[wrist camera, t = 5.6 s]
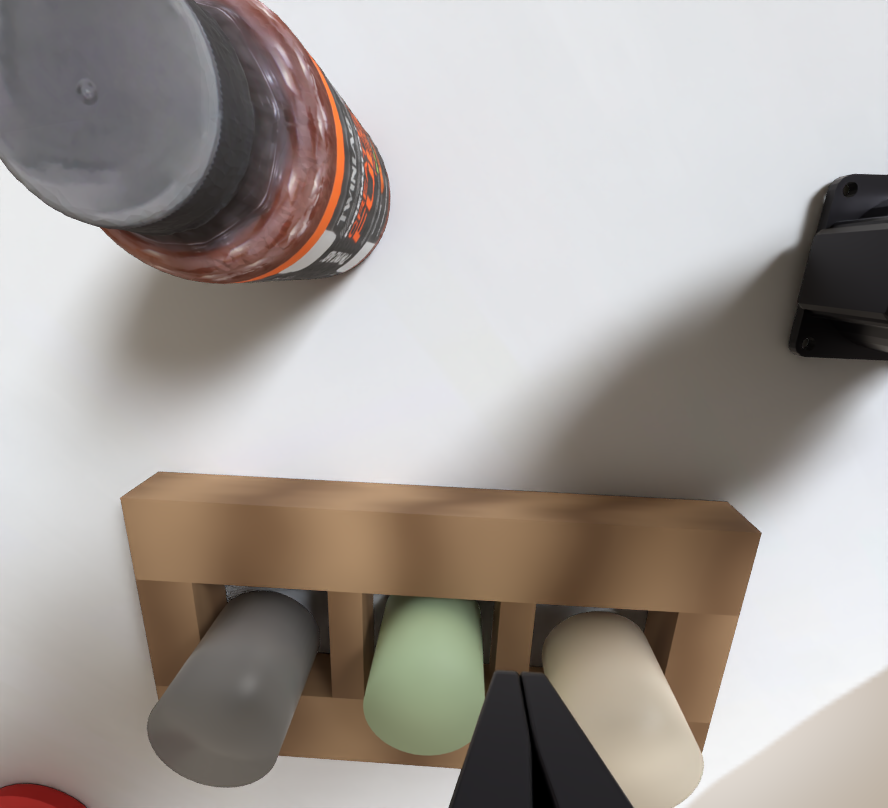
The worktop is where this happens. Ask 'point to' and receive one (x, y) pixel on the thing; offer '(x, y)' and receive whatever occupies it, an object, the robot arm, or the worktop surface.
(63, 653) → the worktop surface
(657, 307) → the worktop surface
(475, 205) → the worktop surface
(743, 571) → the wooden compartment tray
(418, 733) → the pale green cylinder
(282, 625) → the grey short cylinder
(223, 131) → the supplement bottle
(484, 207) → the worktop surface
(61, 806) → the canned food
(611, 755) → the cream cylinder
